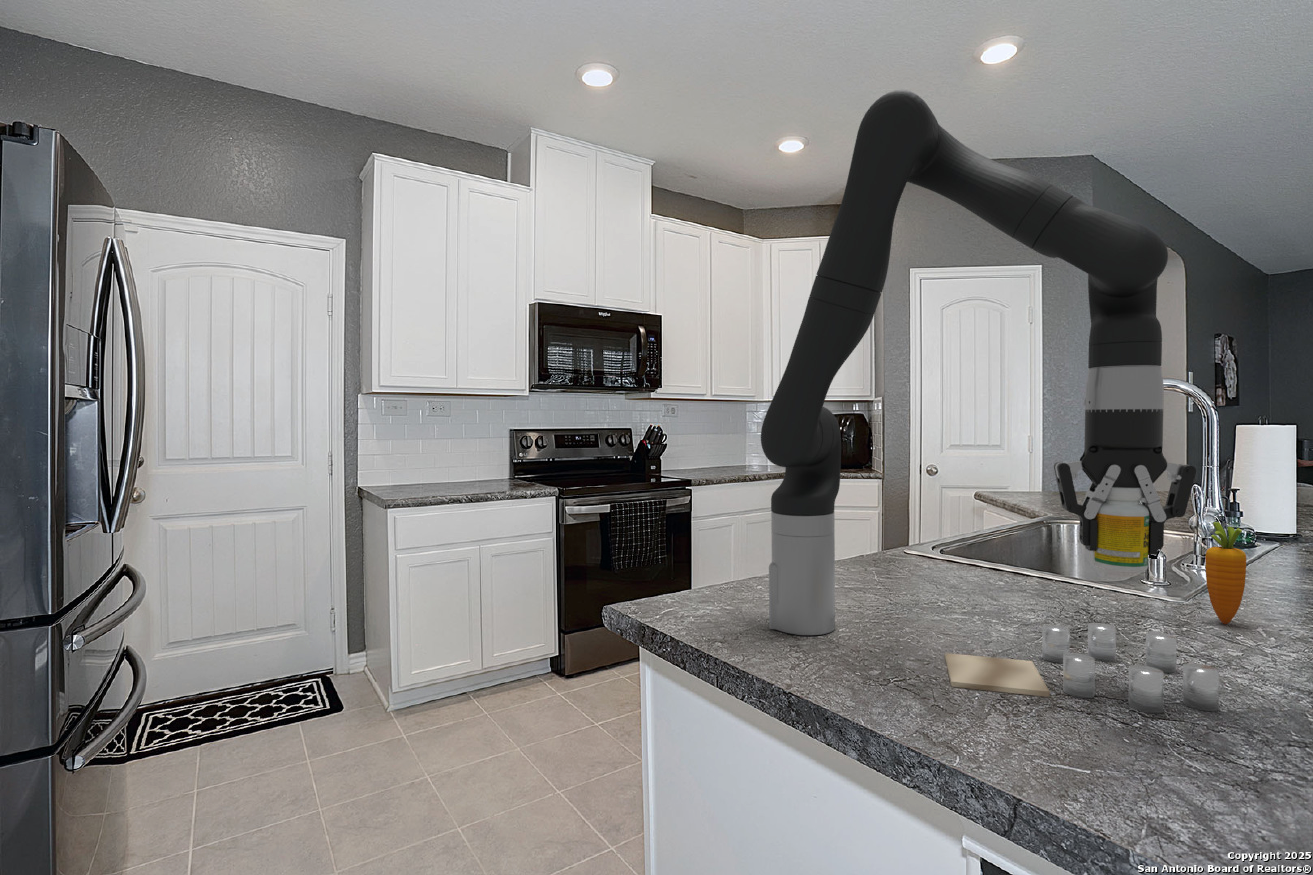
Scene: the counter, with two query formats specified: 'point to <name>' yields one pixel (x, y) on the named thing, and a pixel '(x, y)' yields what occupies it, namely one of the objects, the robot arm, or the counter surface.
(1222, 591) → the carrot
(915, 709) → the counter surface
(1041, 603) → the counter surface
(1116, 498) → the supplement bottle
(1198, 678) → the spacer posts
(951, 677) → the pad
